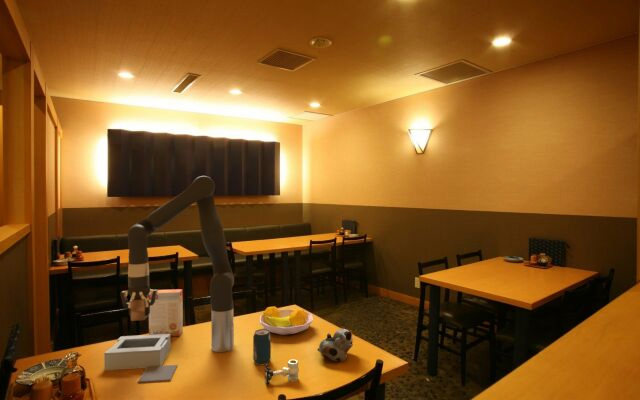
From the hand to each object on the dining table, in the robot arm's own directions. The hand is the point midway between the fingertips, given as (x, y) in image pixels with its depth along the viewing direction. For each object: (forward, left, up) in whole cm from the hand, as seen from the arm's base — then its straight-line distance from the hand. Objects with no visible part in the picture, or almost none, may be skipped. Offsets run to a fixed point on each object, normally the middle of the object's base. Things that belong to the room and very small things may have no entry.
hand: (139, 315), depth 147 cm
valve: (-56, +25, -18) cm, 64 cm away
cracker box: (-4, -25, -18) cm, 31 cm away
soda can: (-49, +9, -18) cm, 53 cm away
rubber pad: (-11, +14, -18) cm, 25 cm away
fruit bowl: (-60, -23, -18) cm, 67 cm away
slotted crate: (0, 0, -18) cm, 18 cm away
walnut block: (0, 0, -1) cm, 1 cm away
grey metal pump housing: (-79, +8, -18) cm, 82 cm away
